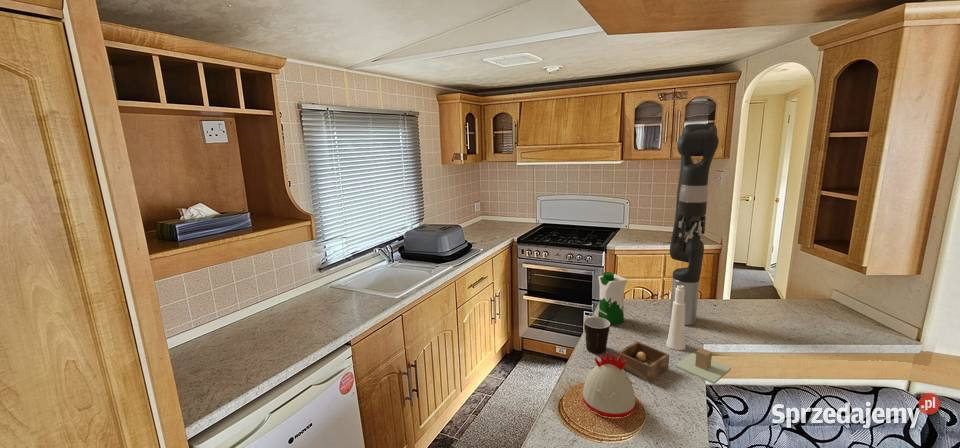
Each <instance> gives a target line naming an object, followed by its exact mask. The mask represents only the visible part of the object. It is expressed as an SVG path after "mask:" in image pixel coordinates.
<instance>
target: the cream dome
mask: <svg viewBox="0 0 960 448" xmlns="http://www.w3.org/2000/svg"><path fill="white" fill-rule="evenodd" d="M615 356H616V355H615V353H614V352H612V355H611V358H610V354H609V351H607V350H606V355H605V358H604V355H603V353H602V354H600V356H599V357H600V361H599V360H598V358H597V357H596V356H595V357H594V361H595V364H596V365H595V366H594V367H593V368H592V369H591V370H590V372H589V373H588V375H587V378H586V380H585V382H584V385H583V388H582V394H581V395H582V397H583V399H582V402H583V401H584V403H585V404H586V405H587V407H589V408H590V409H591V410H592V411H594V412H596V413H598V414H600V415H602V416H607V417H624V416H627V415H629V414H631V413H632V412H633V411H634V412H635V410H636V395H635V391H634V387H633V382H632V381H631V379H630V377H629V375H628V372H626V371H624V370H623V369H622V368H623V367H624V366H625V364H626V362H627V359H626V360H625V361H624V362H621V354H620V356H619V358H618V360H617V359H616V357H615ZM584 403H583V404H584ZM587 407H586V408H587ZM634 409H635V410H634ZM634 412H633V413H634ZM631 415H632V414H631Z"/></svg>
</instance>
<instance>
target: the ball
mask: <svg viewBox="0 0 960 448" xmlns="http://www.w3.org/2000/svg"><path fill="white" fill-rule="evenodd" d="M636 358H637V359H638V360H639V361H645V360H646V355H645V353H643V352H638V353H637V354H636Z"/></svg>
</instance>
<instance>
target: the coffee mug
mask: <svg viewBox="0 0 960 448" xmlns="http://www.w3.org/2000/svg"><path fill="white" fill-rule="evenodd" d="M583 327H584V336H585V337H584V338H585V346H586V347H585V348H586V350H587V352H589V353H591V354H595V355H601V354H602V355H603V354H604V353H605V352H607V347H608V346H607V344H608V338H609V333H610V329H611V328H610V327H611V325H610V322H609V321H608V320H606V319H604V318H600V317H598V316H589V317H586V318H585V319H584V320H583Z"/></svg>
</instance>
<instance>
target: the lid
mask: <svg viewBox="0 0 960 448" xmlns="http://www.w3.org/2000/svg"><path fill="white" fill-rule="evenodd" d="M712 356H713V352H712V351H710V350H708V349H705V348H702V347H701V348H699V349H698V350H696V352H692V353H690V354H689V355H687V356H686V357H684V358H683V359H681V360H680V361H679V362H677V363H676V364H675V365H674V367H675V368H677V369H678V370H681V371H683V372H686V373H688V374H689V375H692V376H694V377H697V378H698V379H701V380H703V381H706V382H708V383H711V384H713V385H715V384H716V383H718V382H719V381H720V380H721V379H722V378H723V377H724V376H726V375H727V374H728V373H729V372H730V371H732V367H731V366H728V365H725V364H723V363H721V362H718V361H715V360H713V359H712Z"/></svg>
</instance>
